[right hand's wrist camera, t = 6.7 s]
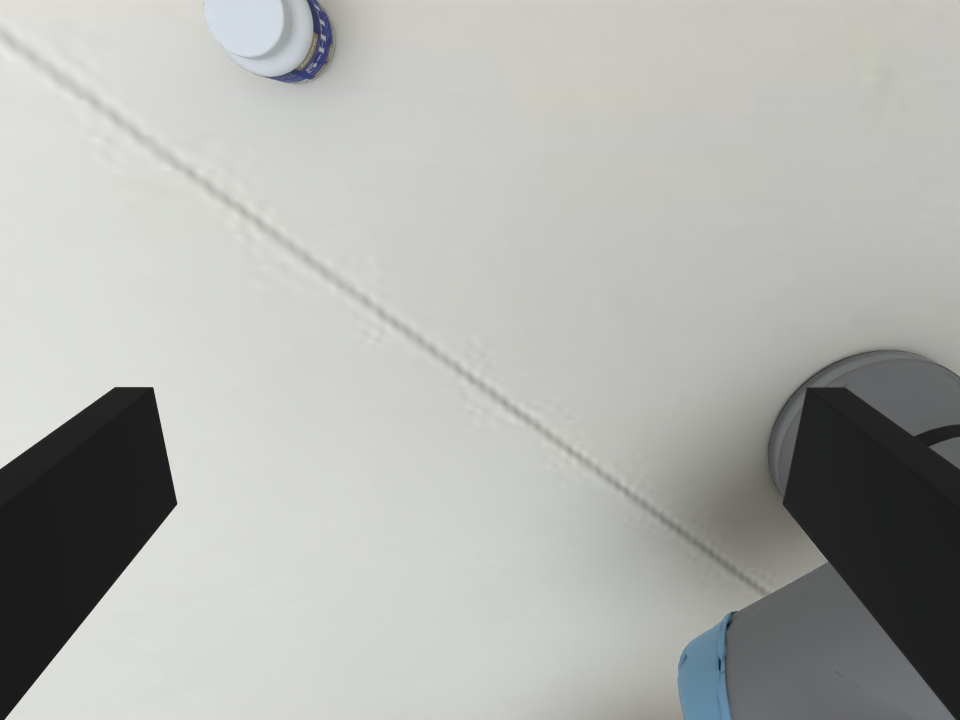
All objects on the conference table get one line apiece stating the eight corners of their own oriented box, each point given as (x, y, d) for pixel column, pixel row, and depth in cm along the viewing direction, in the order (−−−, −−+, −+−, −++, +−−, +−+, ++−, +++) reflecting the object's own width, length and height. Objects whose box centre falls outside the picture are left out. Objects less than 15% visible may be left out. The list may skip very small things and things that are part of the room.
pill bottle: (336, 87, 39) (298, 77, 31) (254, 80, 39) (193, 68, 31) (336, -7, 38) (295, -45, 29) (249, -15, 37) (184, -55, 29)
